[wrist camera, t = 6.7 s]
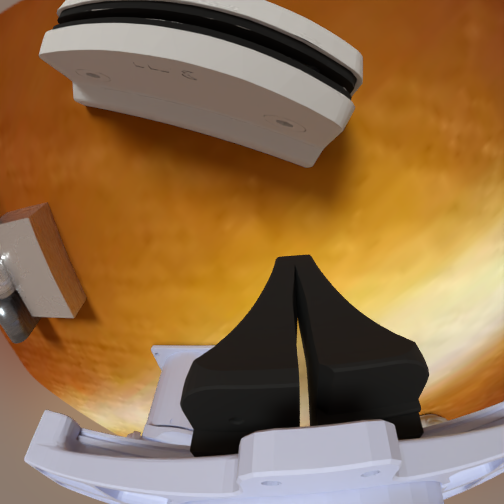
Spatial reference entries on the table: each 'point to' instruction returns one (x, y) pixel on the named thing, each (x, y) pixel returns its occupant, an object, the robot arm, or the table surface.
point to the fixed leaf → (16, 318)
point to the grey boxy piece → (38, 264)
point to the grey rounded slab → (211, 69)
